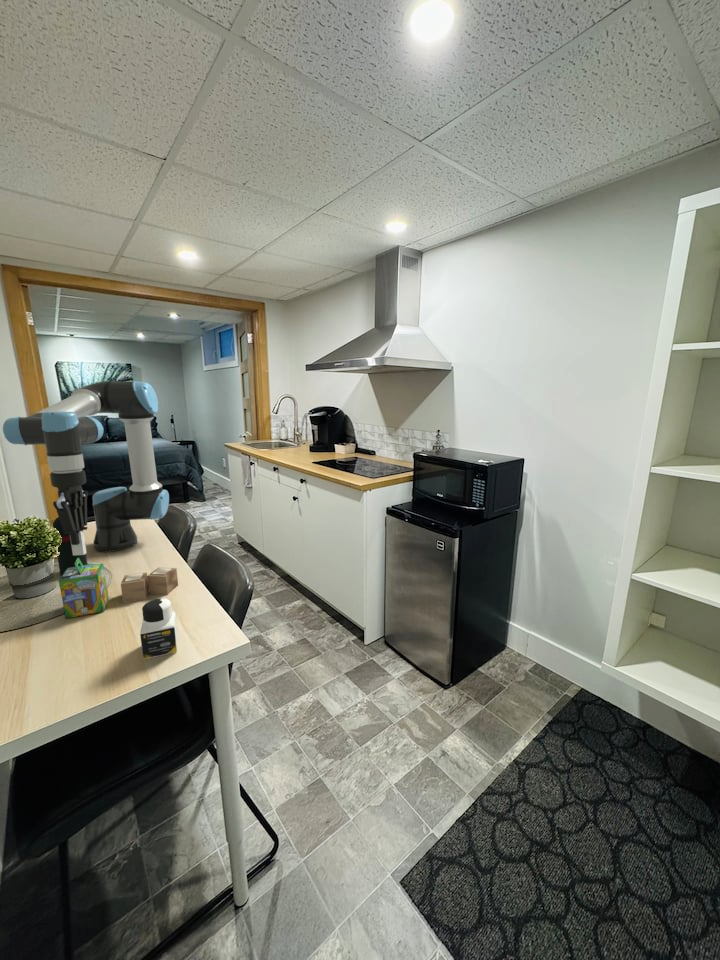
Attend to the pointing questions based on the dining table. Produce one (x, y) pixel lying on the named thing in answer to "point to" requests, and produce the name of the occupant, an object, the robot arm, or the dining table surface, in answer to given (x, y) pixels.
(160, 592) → the walnut block
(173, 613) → the medicine bottle
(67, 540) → the wine bottle
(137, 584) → the walnut block
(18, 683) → the dining table surface
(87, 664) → the dining table surface
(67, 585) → the chalk box
